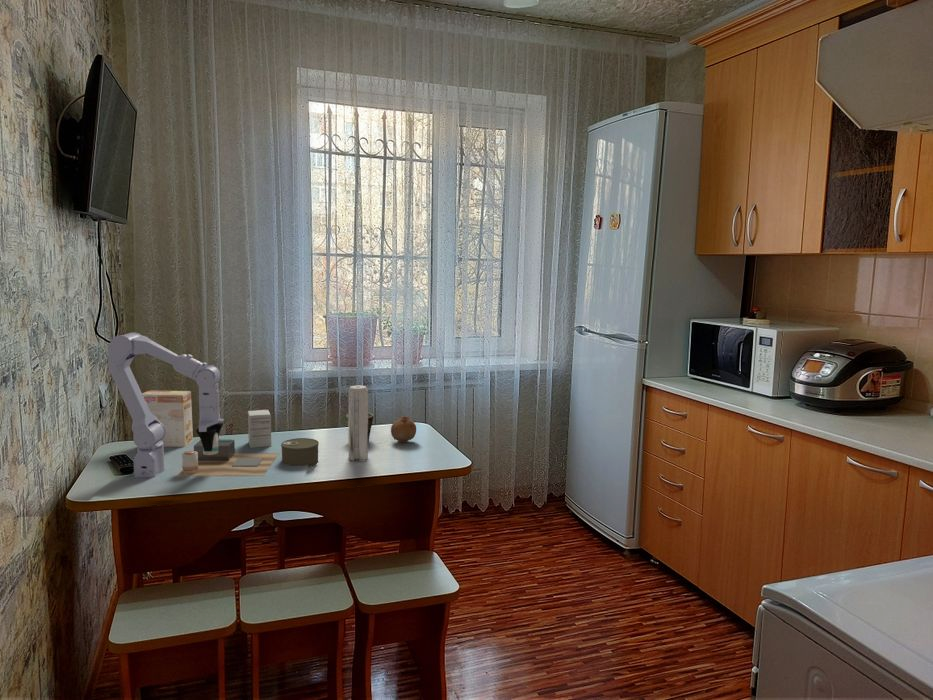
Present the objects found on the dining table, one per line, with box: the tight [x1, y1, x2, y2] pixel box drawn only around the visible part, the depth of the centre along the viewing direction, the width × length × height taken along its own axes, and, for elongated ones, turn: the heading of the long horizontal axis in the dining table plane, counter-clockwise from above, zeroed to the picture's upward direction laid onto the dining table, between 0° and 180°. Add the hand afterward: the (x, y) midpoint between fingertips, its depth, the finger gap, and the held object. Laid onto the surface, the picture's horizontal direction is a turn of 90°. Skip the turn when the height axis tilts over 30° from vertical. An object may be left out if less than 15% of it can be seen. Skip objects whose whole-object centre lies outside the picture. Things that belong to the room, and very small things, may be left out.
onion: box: [390, 415, 417, 443], centre depth 238 cm, size 10×9×10 cm
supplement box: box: [247, 409, 272, 449], centre depth 228 cm, size 7×7×13 cm
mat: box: [232, 458, 263, 466], centre depth 209 cm, size 8×8×1 cm
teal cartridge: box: [203, 432, 219, 455], centre depth 199 cm, size 4×4×6 cm
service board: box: [176, 452, 280, 477], centre depth 207 cm, size 23×26×1 cm
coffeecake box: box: [142, 389, 194, 448], centre depth 226 cm, size 15×7×20 cm, turn 89°
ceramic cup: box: [345, 412, 374, 443], centre depth 237 cm, size 13×10×10 cm
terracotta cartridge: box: [181, 450, 198, 474], centre depth 198 cm, size 4×4×6 cm
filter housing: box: [193, 438, 236, 461], centre depth 213 cm, size 7×11×5 cm
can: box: [280, 437, 320, 468], centre depth 212 cm, size 12×12×7 cm
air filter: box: [347, 385, 369, 462], centre depth 217 cm, size 6×6×25 cm
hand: (210, 448), depth 199 cm, fingers closed on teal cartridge, 4 cm apart
